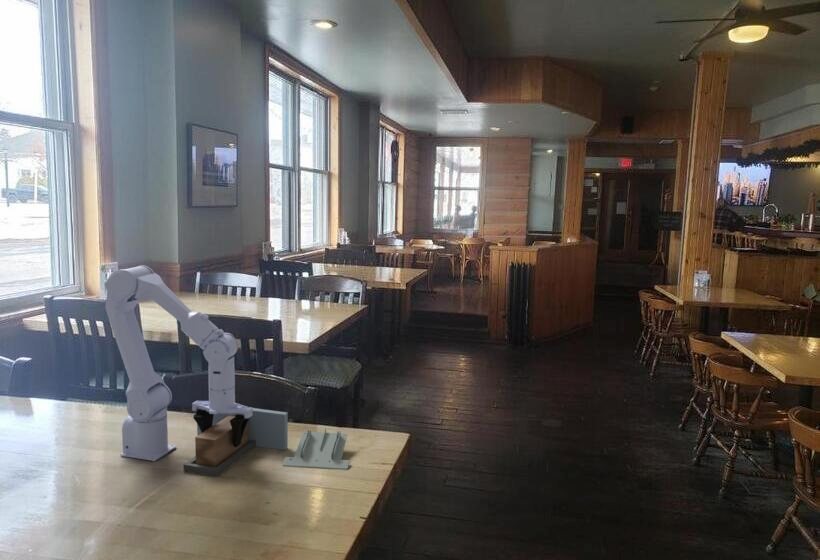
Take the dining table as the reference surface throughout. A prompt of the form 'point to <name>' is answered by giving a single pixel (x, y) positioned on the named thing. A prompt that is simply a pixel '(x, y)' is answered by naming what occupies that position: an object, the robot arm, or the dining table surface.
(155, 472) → the dining table surface
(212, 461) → the brown wooden block
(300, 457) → the metal bracket
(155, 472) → the dining table surface
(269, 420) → the wall board
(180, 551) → the dining table surface
